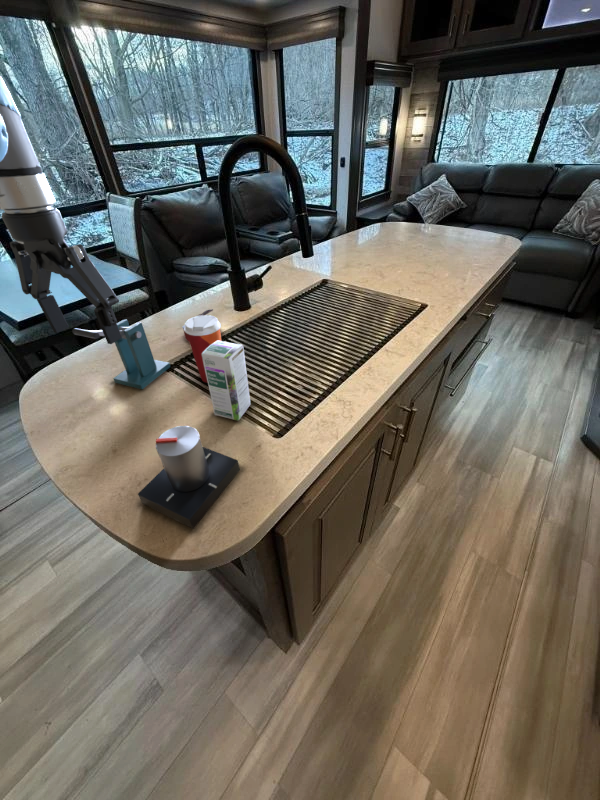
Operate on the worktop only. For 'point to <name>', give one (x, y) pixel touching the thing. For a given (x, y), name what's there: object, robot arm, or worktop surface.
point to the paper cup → (202, 337)
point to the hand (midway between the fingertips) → (87, 335)
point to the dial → (183, 458)
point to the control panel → (192, 503)
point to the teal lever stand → (137, 358)
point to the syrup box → (227, 379)
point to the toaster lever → (96, 332)
